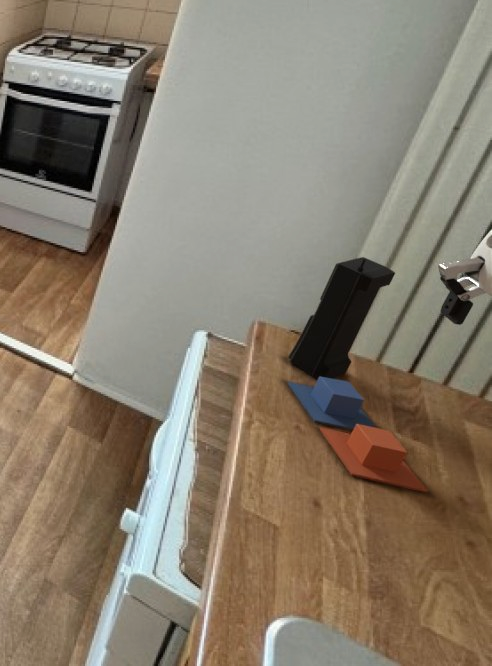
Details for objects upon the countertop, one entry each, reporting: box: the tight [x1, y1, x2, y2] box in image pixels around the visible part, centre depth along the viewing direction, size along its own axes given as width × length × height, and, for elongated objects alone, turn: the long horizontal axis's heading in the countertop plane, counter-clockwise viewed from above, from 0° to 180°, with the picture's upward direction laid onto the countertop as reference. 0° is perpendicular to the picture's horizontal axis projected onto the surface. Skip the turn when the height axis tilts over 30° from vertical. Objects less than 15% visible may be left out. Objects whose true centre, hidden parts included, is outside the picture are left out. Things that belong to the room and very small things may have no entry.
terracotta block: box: [347, 424, 408, 473], centre depth 92 cm, size 4×4×4 cm
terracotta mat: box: [319, 427, 429, 494], centre depth 93 cm, size 9×9×1 cm
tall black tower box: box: [288, 256, 396, 379], centre depth 107 cm, size 8×6×25 cm
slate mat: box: [287, 381, 377, 431], centre depth 103 cm, size 9×9×1 cm
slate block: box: [311, 376, 365, 419], centre depth 102 cm, size 4×4×4 cm
